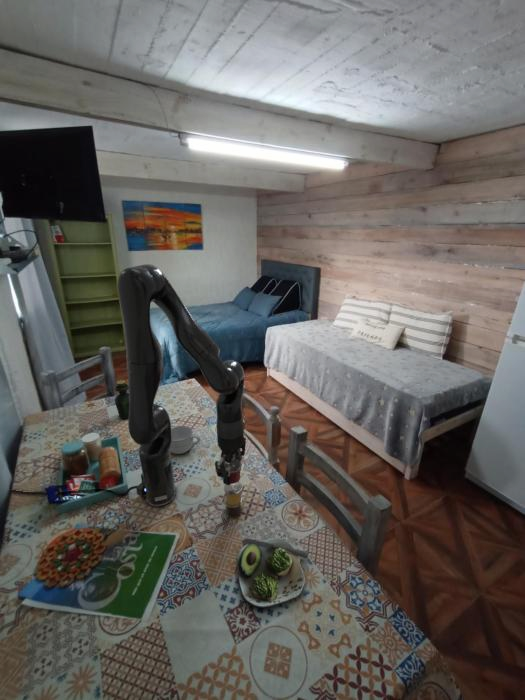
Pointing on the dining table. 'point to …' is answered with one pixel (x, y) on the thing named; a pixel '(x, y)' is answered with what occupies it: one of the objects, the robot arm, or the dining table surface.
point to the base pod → (233, 508)
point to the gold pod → (233, 493)
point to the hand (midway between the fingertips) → (232, 476)
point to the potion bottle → (122, 399)
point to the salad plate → (269, 572)
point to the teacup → (182, 439)
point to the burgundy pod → (235, 471)
